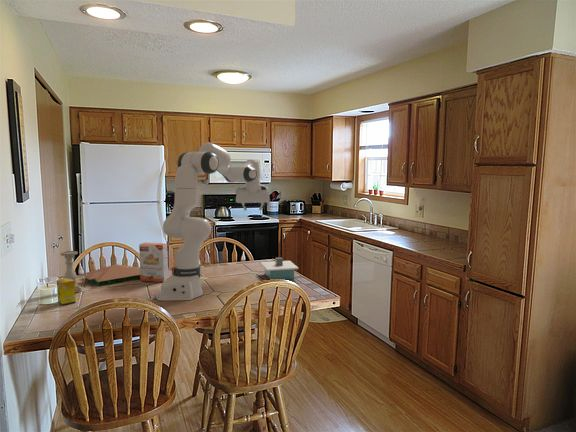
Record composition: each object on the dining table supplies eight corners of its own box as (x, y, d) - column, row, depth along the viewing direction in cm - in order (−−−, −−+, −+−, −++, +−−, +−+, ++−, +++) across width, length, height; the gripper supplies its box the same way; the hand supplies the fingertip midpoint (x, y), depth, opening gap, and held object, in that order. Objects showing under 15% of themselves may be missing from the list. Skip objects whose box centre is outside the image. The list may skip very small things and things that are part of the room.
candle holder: (59, 291, 208) (57, 252, 206) (78, 288, 214) (76, 249, 211) (63, 295, 201) (61, 255, 199) (83, 292, 207) (80, 252, 205)
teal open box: (270, 280, 230) (270, 269, 230) (264, 274, 244) (264, 264, 243) (294, 278, 234) (294, 268, 233) (287, 272, 248) (287, 262, 247)
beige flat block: (80, 279, 231) (79, 265, 230) (138, 270, 253) (137, 257, 252) (92, 288, 214) (91, 273, 213) (153, 277, 236) (153, 264, 235)
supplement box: (57, 302, 191) (56, 279, 190) (71, 300, 195) (70, 277, 194) (61, 306, 187) (60, 282, 185) (75, 303, 191) (74, 280, 189)
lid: (267, 271, 227) (267, 262, 227) (260, 263, 245) (260, 255, 244) (298, 269, 232) (298, 260, 231) (289, 261, 249) (289, 254, 249)
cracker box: (139, 281, 227) (138, 244, 225) (145, 278, 233) (144, 242, 231) (163, 282, 225) (162, 245, 222) (168, 279, 231) (167, 242, 228)
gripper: (236, 187, 241) (236, 211, 243) (270, 187, 247) (270, 210, 248) (234, 187, 247) (235, 209, 249) (268, 186, 253) (268, 209, 254)
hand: (252, 210), depth 249 cm, fingers open, 8 cm apart
